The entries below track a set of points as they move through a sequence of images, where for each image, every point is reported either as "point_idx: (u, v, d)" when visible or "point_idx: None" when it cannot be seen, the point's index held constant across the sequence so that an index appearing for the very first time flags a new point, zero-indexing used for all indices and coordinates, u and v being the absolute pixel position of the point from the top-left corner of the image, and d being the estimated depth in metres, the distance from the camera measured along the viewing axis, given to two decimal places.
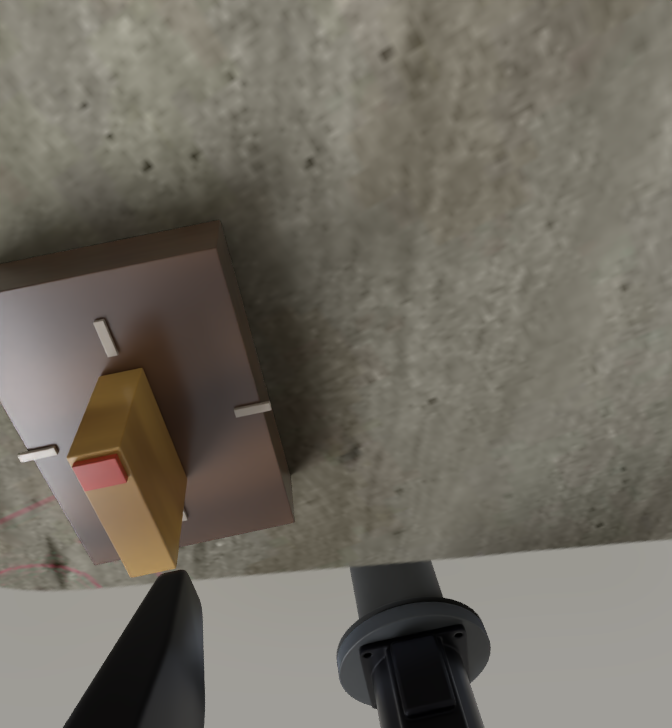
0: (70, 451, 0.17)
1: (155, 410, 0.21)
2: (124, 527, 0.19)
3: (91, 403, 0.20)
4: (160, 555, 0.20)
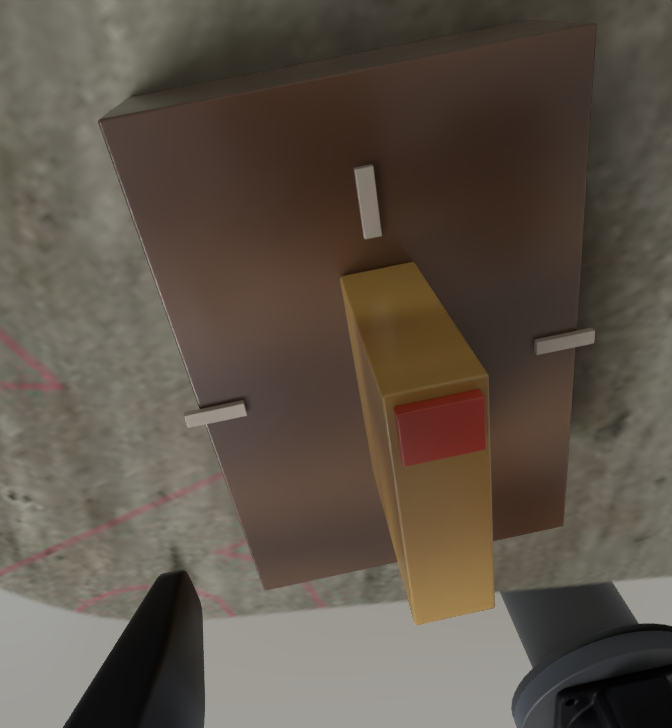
0: (382, 385, 0.09)
1: None
2: (438, 536, 0.10)
3: (359, 311, 0.11)
4: (479, 586, 0.11)
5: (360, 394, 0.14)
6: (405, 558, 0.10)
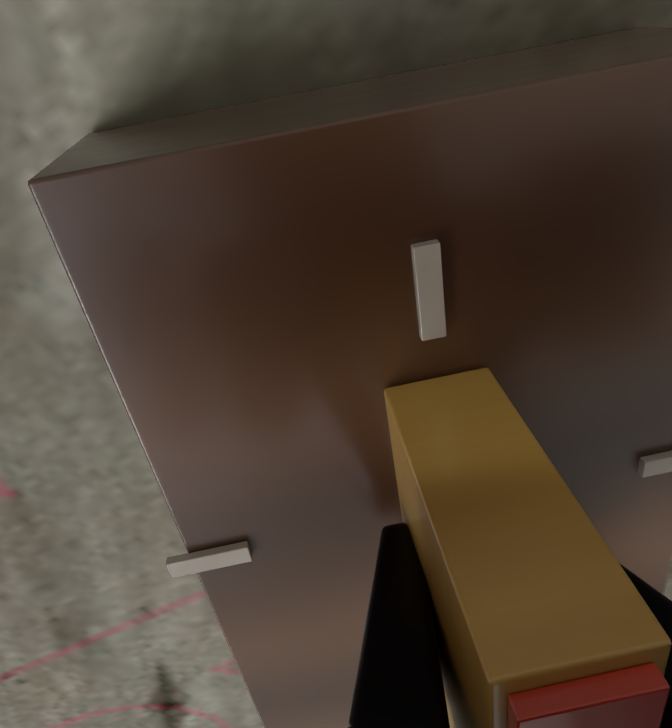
0: (486, 650, 0.05)
1: None
2: None
3: (422, 463, 0.07)
4: None
5: None
6: None
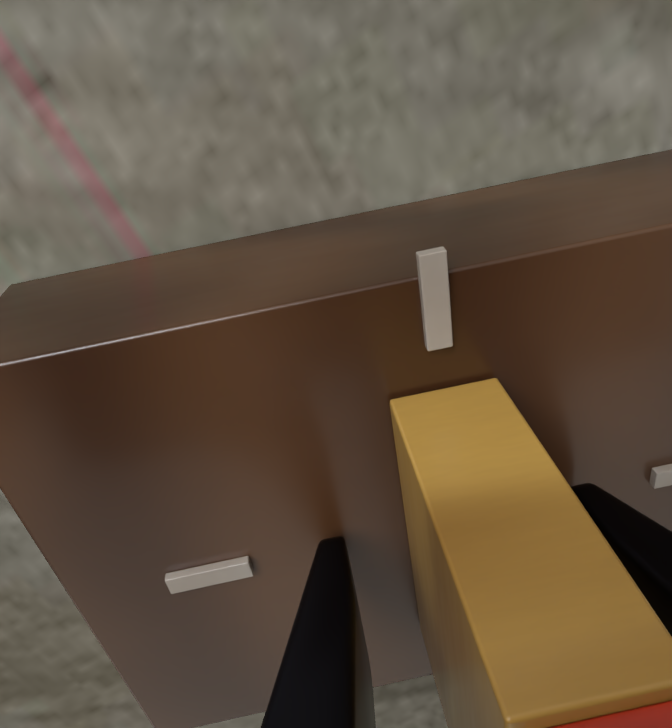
0: (501, 686, 0.05)
1: None
2: None
3: (430, 480, 0.07)
4: None
5: (411, 548, 0.10)
6: None
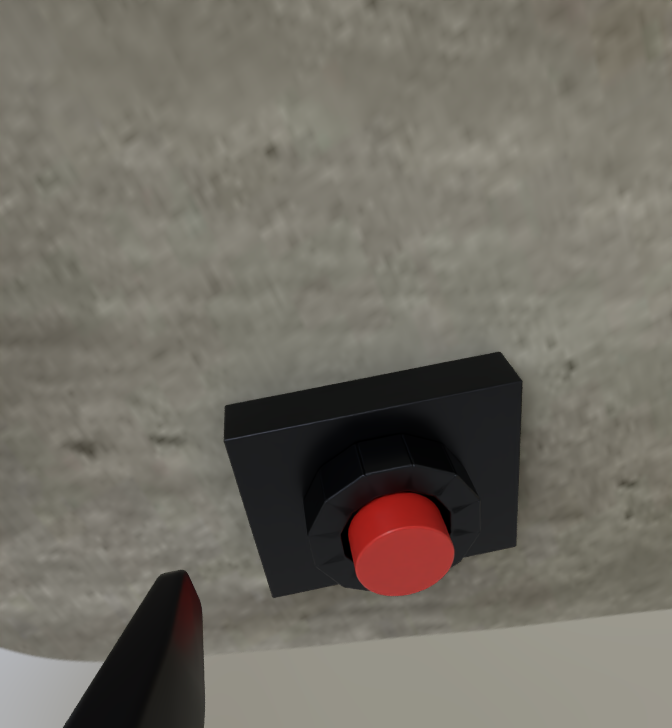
0: None
1: None
2: None
3: None
4: None
5: None
6: None
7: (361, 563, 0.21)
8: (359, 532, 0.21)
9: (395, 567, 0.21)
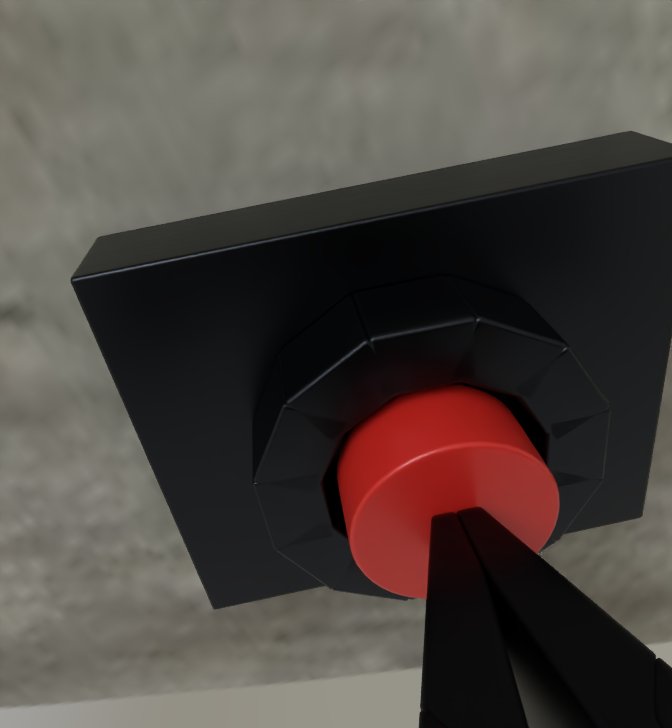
0: None
1: None
2: None
3: None
4: None
5: None
6: None
7: (362, 528, 0.10)
8: (357, 464, 0.10)
9: None
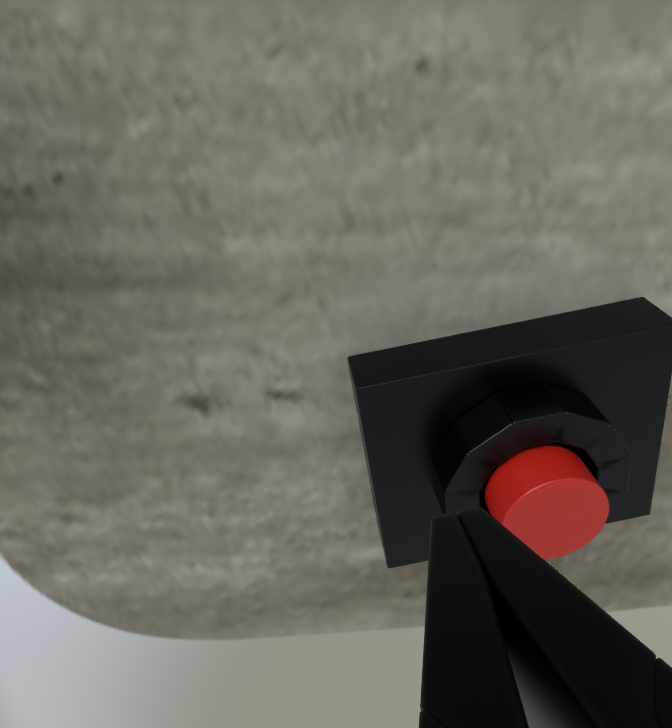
0: None
1: None
2: None
3: None
4: None
5: None
6: None
7: (509, 520, 0.19)
8: (504, 488, 0.19)
9: (544, 526, 0.19)
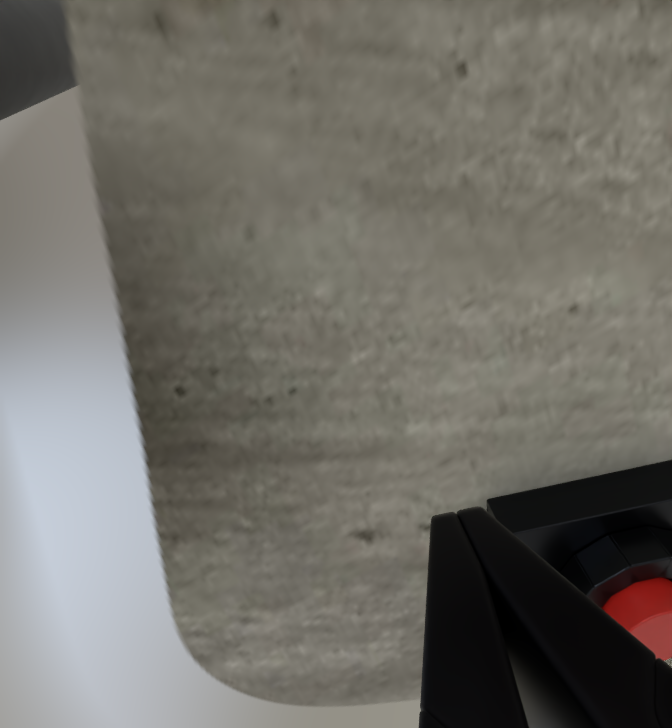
0: None
1: None
2: None
3: None
4: None
5: None
6: None
7: None
8: (620, 612, 0.25)
9: (652, 642, 0.25)
